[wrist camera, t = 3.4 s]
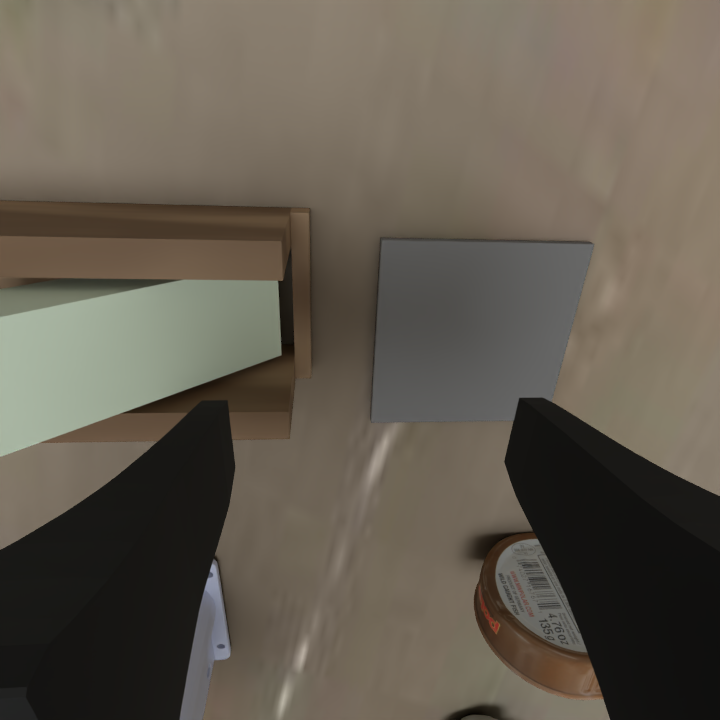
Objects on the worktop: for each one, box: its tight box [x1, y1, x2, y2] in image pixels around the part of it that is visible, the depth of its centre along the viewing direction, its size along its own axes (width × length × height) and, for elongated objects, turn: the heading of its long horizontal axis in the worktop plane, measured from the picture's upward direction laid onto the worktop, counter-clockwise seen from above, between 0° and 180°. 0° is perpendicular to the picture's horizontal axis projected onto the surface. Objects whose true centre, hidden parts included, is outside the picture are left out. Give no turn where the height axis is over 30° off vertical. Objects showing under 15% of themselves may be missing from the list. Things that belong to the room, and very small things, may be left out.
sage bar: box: [0, 278, 282, 457], centre depth 16 cm, size 4×10×2 cm
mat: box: [370, 238, 594, 423], centre depth 21 cm, size 9×9×1 cm
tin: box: [474, 533, 603, 700], centre depth 25 cm, size 15×3×8 cm, turn 88°
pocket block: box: [0, 201, 312, 443], centre depth 17 cm, size 7×13×5 cm, turn 88°
